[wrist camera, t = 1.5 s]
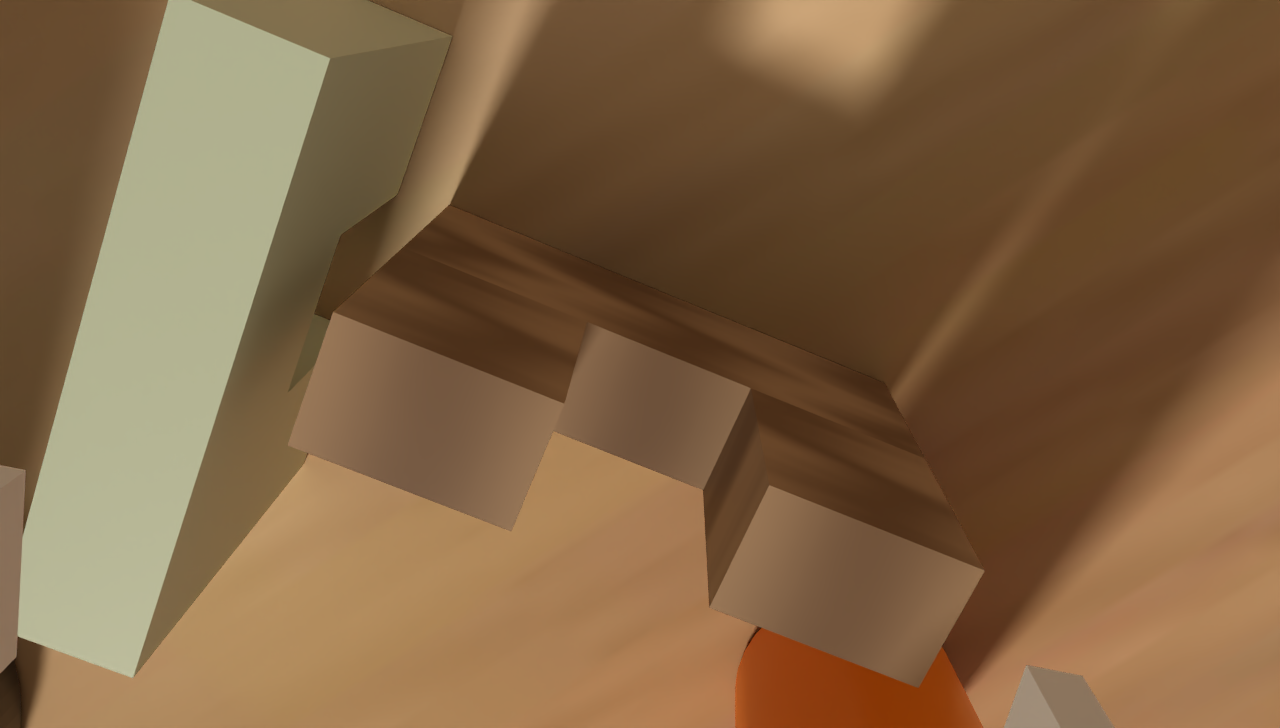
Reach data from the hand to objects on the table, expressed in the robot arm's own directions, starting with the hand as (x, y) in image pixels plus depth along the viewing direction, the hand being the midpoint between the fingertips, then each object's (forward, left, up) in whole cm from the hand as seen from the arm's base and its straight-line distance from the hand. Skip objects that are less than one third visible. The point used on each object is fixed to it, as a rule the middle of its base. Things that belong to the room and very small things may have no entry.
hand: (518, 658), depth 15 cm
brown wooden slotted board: (+2, -1, -20) cm, 20 cm away
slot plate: (-8, -2, -20) cm, 22 cm away
